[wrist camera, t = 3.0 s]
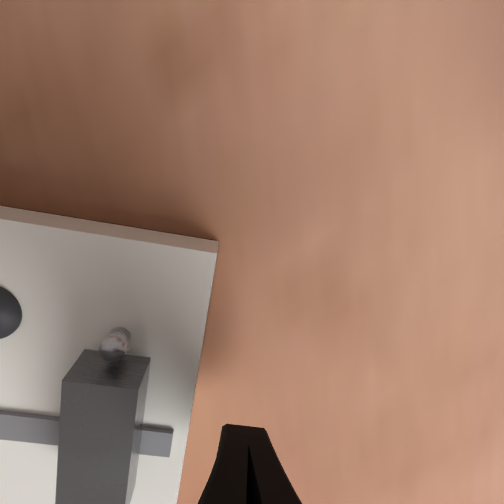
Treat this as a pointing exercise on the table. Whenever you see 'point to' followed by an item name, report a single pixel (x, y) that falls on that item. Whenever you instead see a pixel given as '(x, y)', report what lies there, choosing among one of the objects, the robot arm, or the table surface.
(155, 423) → the board
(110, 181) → the table surface
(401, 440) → the table surface
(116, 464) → the block
